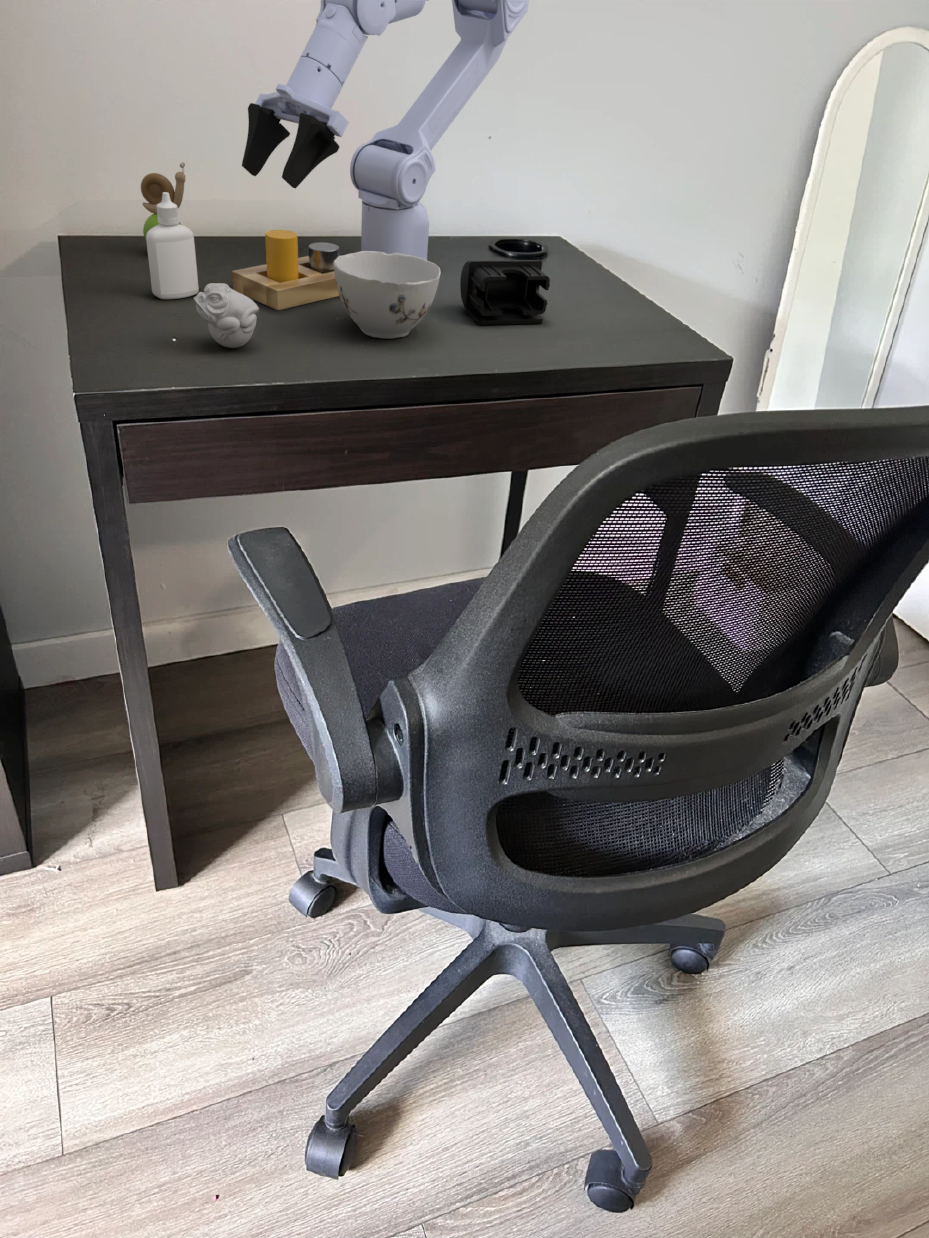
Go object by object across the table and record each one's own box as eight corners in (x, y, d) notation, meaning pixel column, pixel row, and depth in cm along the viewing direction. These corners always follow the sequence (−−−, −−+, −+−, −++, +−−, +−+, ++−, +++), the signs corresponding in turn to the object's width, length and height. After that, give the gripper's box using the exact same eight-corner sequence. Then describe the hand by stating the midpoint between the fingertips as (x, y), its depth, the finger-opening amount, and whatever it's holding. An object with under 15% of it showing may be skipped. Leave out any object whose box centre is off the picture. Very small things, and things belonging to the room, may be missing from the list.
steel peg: (325, 278, 126) (325, 240, 123) (345, 286, 124) (345, 248, 121) (303, 283, 124) (302, 245, 121) (322, 291, 122) (322, 252, 119)
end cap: (527, 305, 125) (533, 254, 120) (547, 324, 119) (554, 270, 115) (457, 307, 122) (461, 254, 117) (475, 326, 116) (480, 271, 112)
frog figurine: (194, 338, 105) (188, 276, 101) (255, 335, 107) (252, 274, 103) (202, 358, 101) (197, 294, 96) (266, 354, 103) (263, 292, 99)
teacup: (453, 345, 110) (459, 277, 106) (356, 354, 105) (357, 284, 100) (403, 304, 121) (405, 240, 116) (312, 311, 116) (311, 245, 111)
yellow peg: (285, 287, 122) (283, 228, 118) (305, 295, 120) (304, 235, 116) (261, 292, 120) (258, 232, 115) (280, 301, 118) (278, 240, 113)
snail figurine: (187, 261, 127) (178, 167, 120) (140, 257, 127) (129, 162, 120) (197, 250, 132) (189, 159, 124) (152, 246, 131) (141, 154, 124)
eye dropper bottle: (198, 300, 115) (189, 198, 108) (152, 300, 114) (139, 196, 107) (199, 289, 118) (190, 189, 111) (153, 288, 117) (141, 187, 110)
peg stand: (232, 290, 119) (231, 271, 118) (327, 270, 129) (327, 252, 128) (277, 310, 115) (277, 290, 113) (372, 288, 125) (372, 269, 123)
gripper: (260, 42, 110) (208, 145, 111) (341, 57, 103) (285, 167, 104) (297, 83, 116) (247, 180, 117) (376, 100, 109) (323, 204, 110)
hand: (268, 177), depth 111 cm, fingers open, 7 cm apart
